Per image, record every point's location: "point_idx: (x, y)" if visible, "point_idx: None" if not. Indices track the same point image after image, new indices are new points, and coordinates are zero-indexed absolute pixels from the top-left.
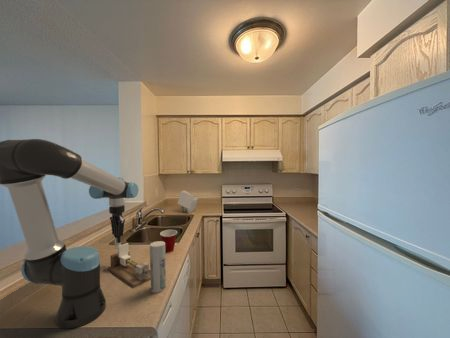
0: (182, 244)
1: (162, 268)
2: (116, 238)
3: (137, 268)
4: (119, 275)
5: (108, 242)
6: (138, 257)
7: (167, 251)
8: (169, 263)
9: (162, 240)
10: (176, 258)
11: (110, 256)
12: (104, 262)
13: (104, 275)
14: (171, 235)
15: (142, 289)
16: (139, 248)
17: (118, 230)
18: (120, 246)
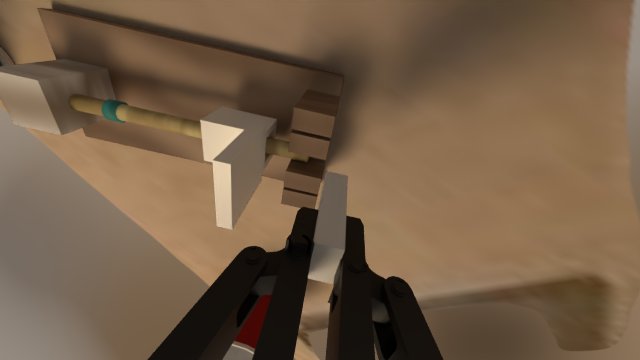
0: None
1: None
2: (314, 236)
3: (32, 73)
4: (191, 43)
5: (623, 289)
6: None
7: None
8: (166, 219)
9: (255, 319)
10: (185, 251)
11: (335, 114)
12: (444, 128)
13: (297, 18)
14: None
15: (14, 20)
16: (391, 275)
17: (199, 328)
18: (217, 168)
